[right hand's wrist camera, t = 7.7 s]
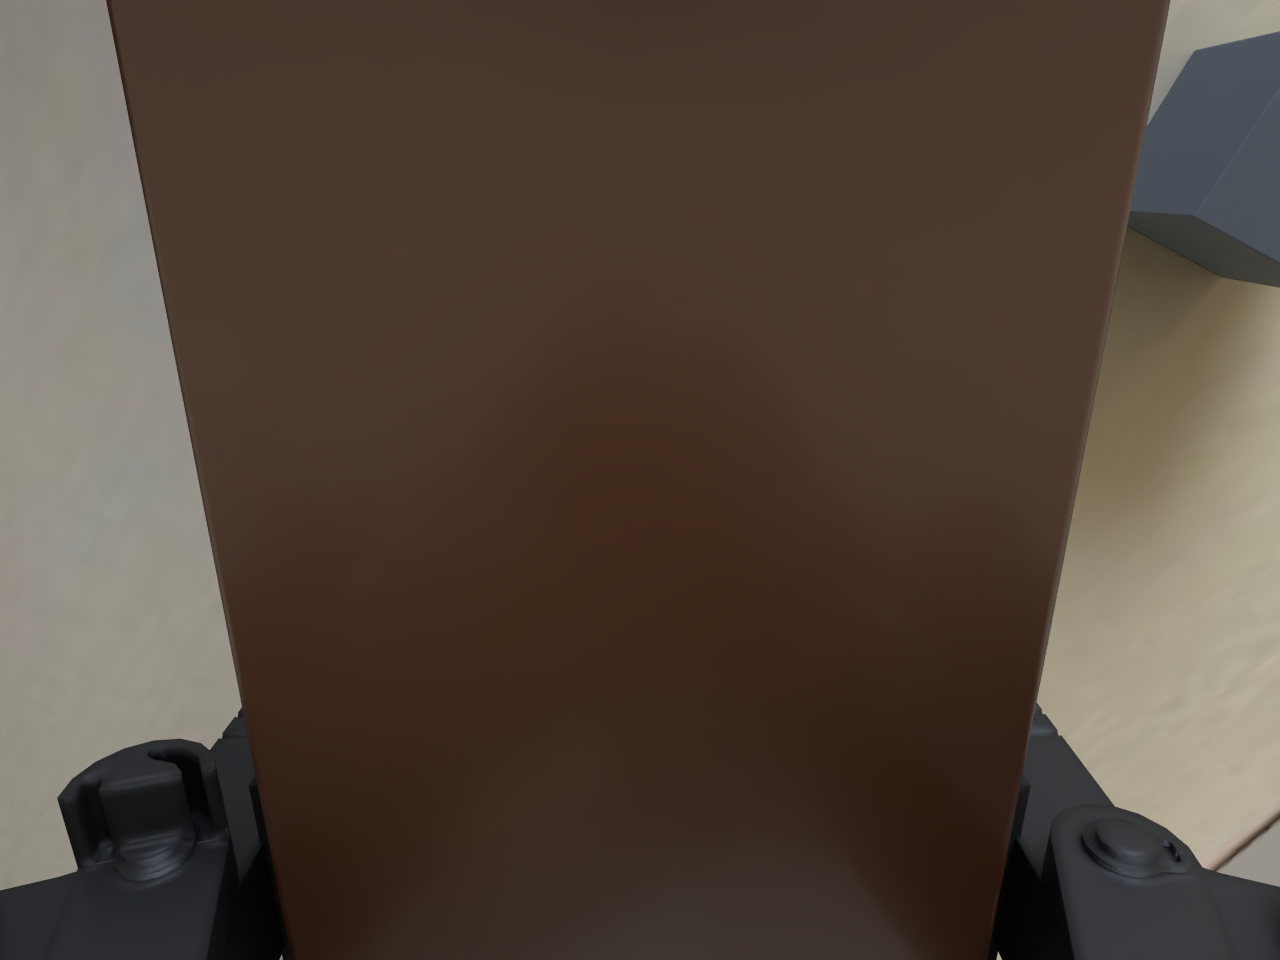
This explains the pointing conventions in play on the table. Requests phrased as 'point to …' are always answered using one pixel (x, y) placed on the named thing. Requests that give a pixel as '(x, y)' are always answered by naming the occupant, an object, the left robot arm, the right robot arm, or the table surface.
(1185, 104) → the slate block
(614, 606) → the walnut box
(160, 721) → the table surface
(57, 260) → the table surface
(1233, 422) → the table surface
